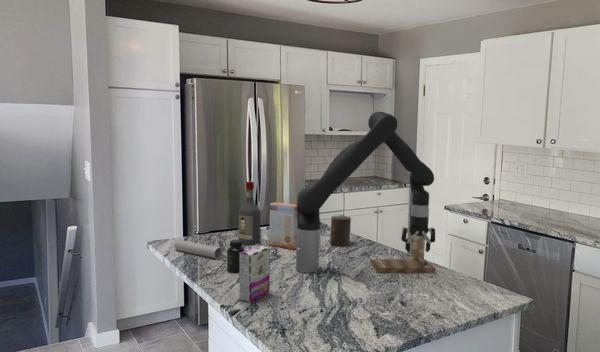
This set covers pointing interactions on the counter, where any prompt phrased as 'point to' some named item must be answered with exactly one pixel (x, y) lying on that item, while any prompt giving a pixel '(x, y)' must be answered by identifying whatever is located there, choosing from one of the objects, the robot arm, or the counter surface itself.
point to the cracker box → (283, 225)
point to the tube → (199, 249)
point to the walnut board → (401, 266)
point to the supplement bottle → (234, 256)
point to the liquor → (249, 218)
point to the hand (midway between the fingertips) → (417, 251)
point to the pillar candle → (340, 231)
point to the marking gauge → (418, 248)
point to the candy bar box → (254, 273)
